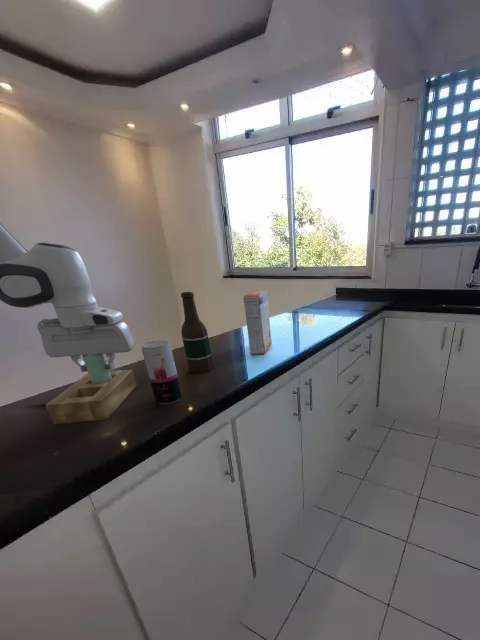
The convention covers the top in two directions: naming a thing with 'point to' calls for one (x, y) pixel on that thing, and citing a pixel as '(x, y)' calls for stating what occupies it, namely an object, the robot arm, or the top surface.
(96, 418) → the bottle stand
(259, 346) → the cracker box
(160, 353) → the beverage can
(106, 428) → the top surface
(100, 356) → the bottle
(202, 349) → the beer bottle
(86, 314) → the robot arm
